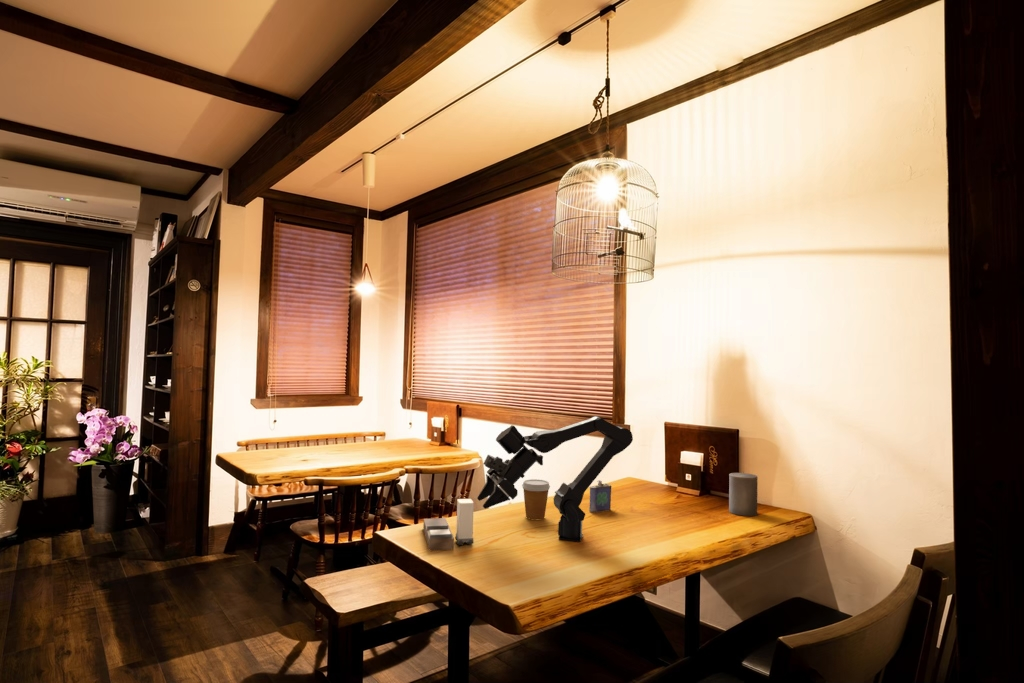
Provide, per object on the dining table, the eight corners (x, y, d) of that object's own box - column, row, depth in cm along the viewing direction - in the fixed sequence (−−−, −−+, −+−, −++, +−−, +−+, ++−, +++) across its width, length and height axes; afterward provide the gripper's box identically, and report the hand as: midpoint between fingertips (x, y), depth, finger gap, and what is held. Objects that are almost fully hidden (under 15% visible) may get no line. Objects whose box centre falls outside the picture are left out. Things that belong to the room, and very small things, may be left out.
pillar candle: (763, 516, 204) (763, 473, 205) (739, 516, 202) (740, 474, 203) (745, 509, 214) (746, 468, 214) (723, 510, 211) (723, 469, 212)
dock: (445, 527, 179) (445, 514, 180) (453, 549, 159) (454, 534, 159) (423, 528, 178) (423, 515, 178) (429, 550, 158) (429, 535, 158)
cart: (470, 539, 169) (472, 498, 169) (473, 545, 163) (475, 503, 163) (454, 540, 167) (455, 498, 168) (457, 546, 162) (458, 503, 162)
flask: (592, 513, 202) (592, 482, 202) (586, 511, 204) (587, 481, 205) (612, 510, 206) (613, 480, 207) (607, 508, 209) (607, 479, 209)
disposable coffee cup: (547, 522, 188) (548, 486, 189) (518, 520, 190) (519, 483, 191) (551, 515, 198) (551, 480, 198) (523, 512, 200) (524, 478, 200)
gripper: (494, 441, 178) (457, 477, 175) (507, 450, 159) (467, 491, 156) (518, 466, 179) (482, 502, 176) (534, 478, 161) (494, 519, 158)
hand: (480, 503), depth 167 cm, fingers open, 9 cm apart
